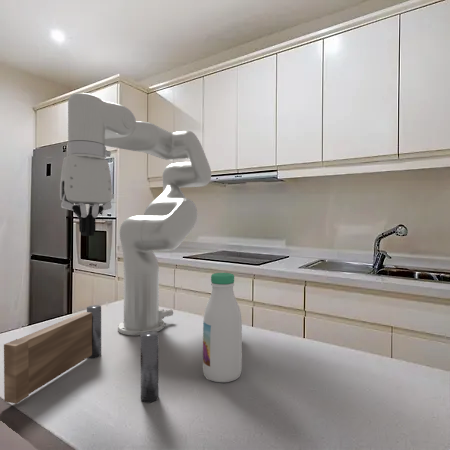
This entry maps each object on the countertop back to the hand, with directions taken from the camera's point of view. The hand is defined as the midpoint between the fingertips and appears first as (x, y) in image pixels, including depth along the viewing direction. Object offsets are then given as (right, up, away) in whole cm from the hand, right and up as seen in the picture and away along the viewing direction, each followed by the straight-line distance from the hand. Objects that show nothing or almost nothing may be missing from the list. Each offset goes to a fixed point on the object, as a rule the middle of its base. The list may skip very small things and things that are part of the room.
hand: (87, 235), depth 72 cm
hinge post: (+1, -27, +1) cm, 27 cm away
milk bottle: (+30, -28, -8) cm, 42 cm away
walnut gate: (-2, -26, -10) cm, 28 cm away
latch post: (+18, -28, -16) cm, 37 cm away
